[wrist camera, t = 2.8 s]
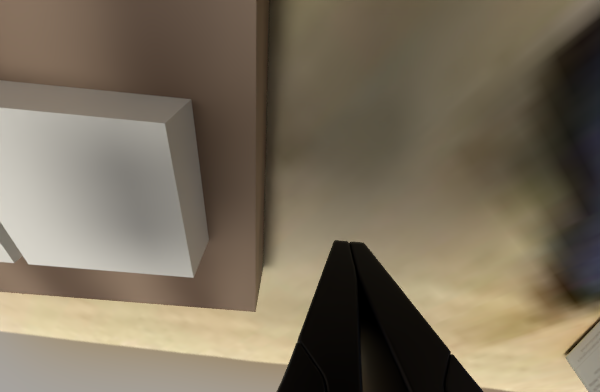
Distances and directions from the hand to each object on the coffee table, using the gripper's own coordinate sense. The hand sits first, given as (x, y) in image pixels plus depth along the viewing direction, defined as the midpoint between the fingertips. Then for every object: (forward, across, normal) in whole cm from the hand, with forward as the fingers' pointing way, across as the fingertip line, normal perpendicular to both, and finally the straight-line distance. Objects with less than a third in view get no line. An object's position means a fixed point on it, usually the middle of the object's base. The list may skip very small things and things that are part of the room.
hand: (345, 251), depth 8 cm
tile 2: (+3, +8, 0) cm, 9 cm away
